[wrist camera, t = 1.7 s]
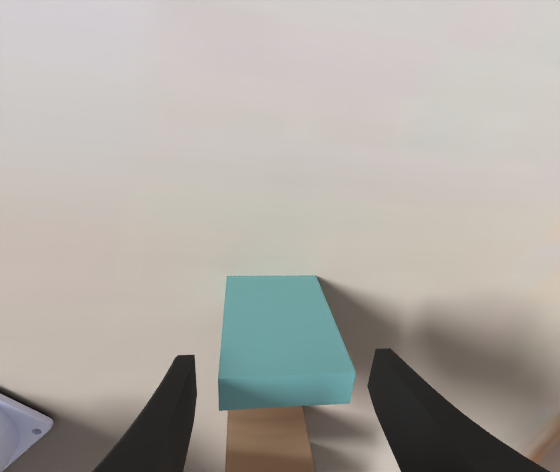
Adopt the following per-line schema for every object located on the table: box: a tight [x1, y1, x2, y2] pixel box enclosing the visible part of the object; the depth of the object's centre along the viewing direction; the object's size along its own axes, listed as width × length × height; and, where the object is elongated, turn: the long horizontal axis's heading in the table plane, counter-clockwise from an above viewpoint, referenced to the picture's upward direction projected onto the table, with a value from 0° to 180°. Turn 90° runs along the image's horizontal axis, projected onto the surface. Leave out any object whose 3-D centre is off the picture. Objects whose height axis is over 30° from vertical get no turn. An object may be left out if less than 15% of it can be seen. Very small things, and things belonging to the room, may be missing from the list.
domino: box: [225, 406, 315, 472], centre depth 19 cm, size 2×5×7 cm, turn 87°
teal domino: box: [218, 276, 356, 411], centre depth 15 cm, size 2×5×7 cm, turn 87°
